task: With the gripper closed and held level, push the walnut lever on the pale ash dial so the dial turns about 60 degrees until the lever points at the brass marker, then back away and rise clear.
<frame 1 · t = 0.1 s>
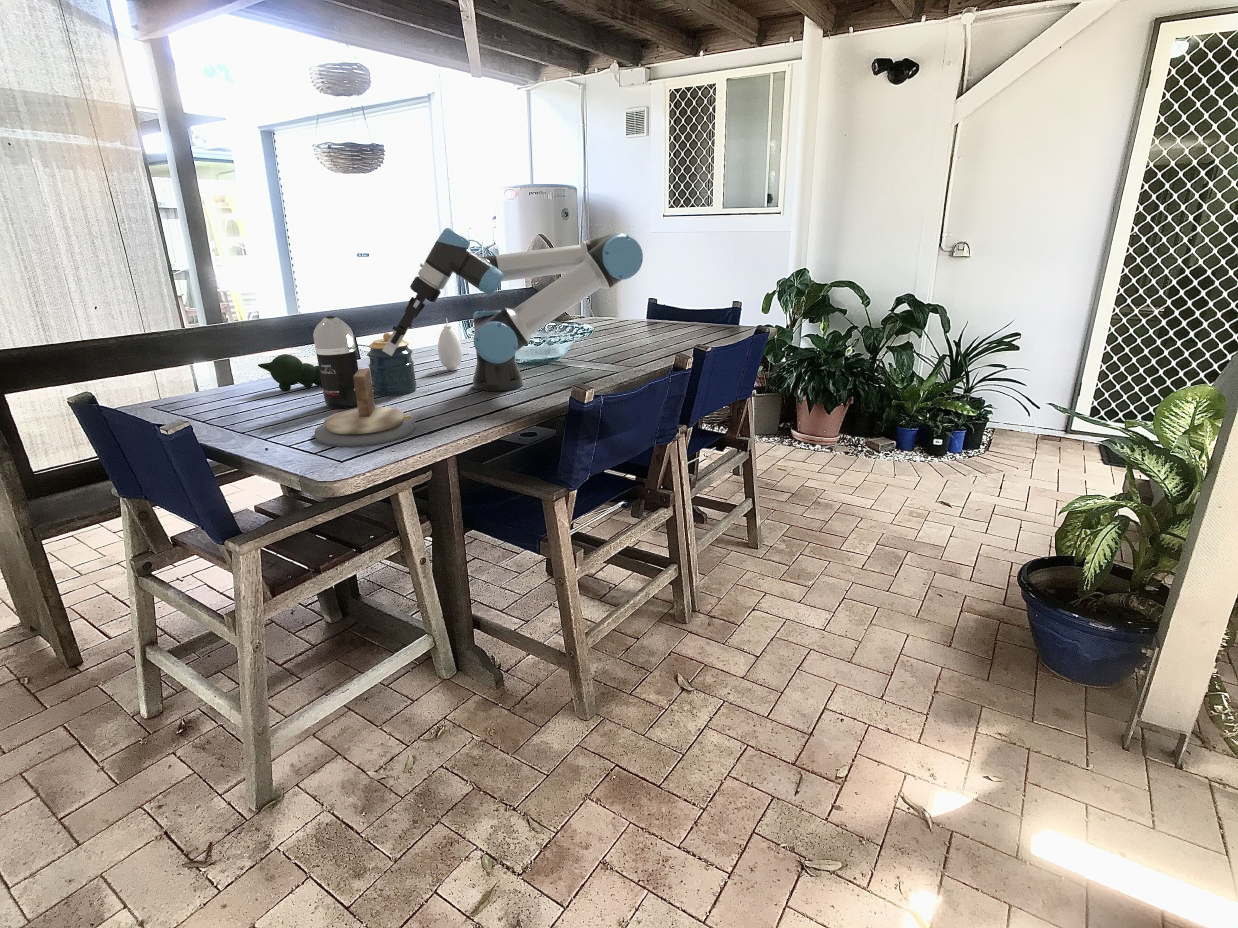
hand: (390, 348, 179), 15 cm above the table, tool tilted 35°, fingers open, 13 cm apart
canister: (395, 391, 197), on the table
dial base: (366, 431, 158), on the table
dial: (361, 400, 155), point 8 cm above the table, hinge at 0.0°
white tall oval piece: (452, 370, 225), on the table
black chrome cylinder: (345, 405, 182), on the table
toy figurine: (309, 388, 202), on the table
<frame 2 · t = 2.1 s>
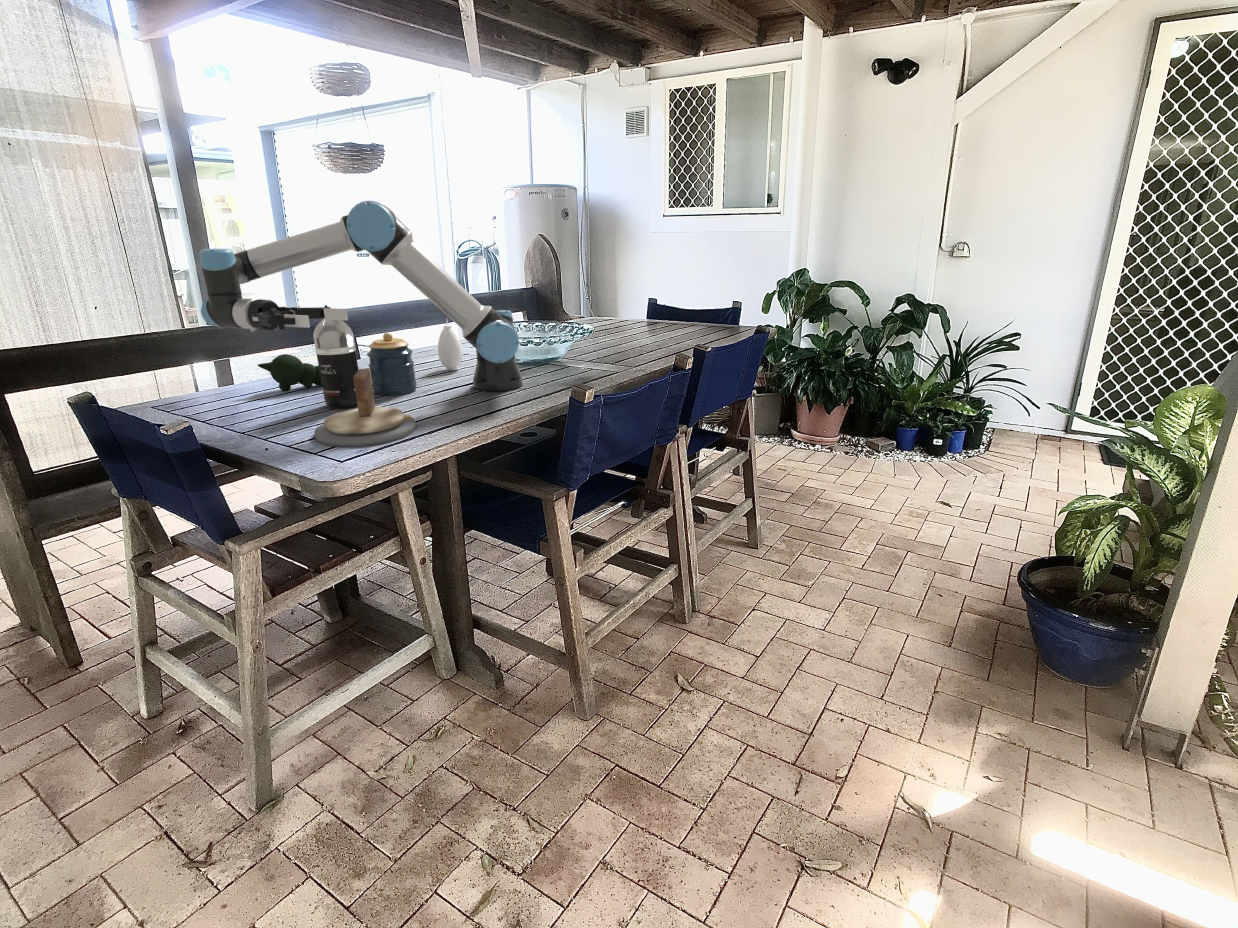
hand: (328, 318, 156), 26 cm above the table, tool horizontal, fingers open, 12 cm apart
nothing on the table moved.
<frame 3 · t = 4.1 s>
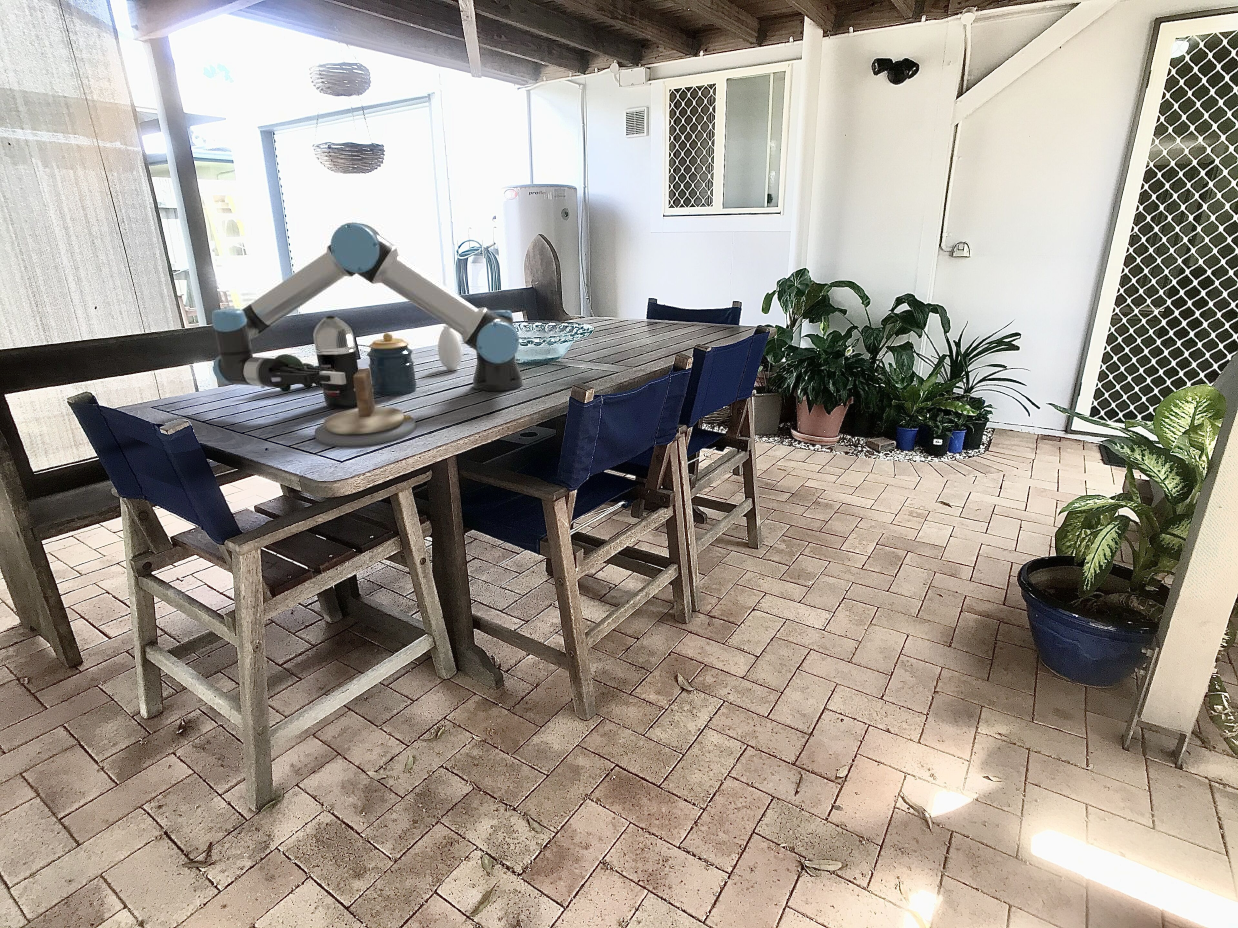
hand: (343, 378, 161), 12 cm above the table, tool horizontal, fingers closed
nothing on the table moved.
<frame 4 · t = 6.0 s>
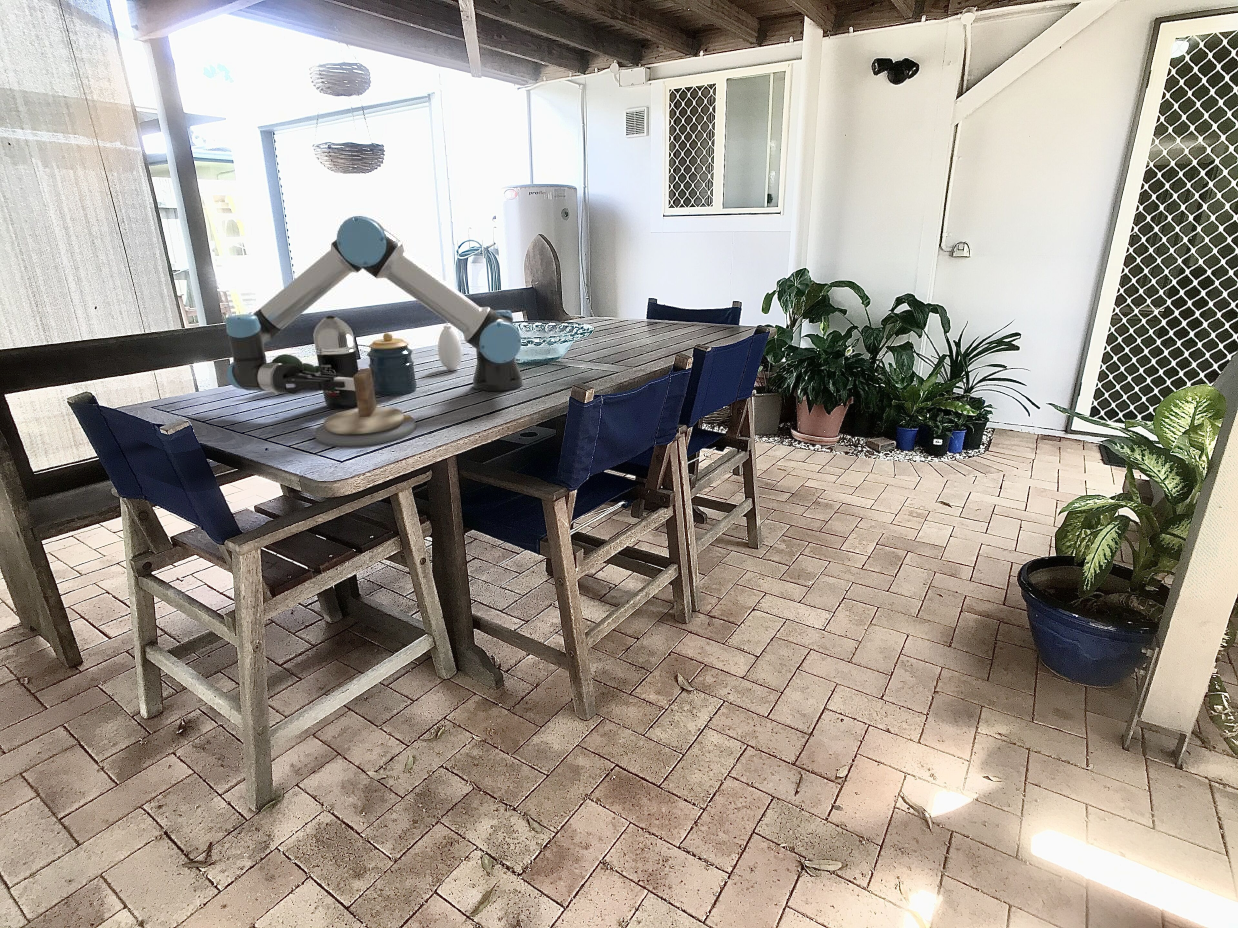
hand: (358, 384, 160), 10 cm above the table, tool horizontal, fingers closed
dial: (361, 400, 155), point 8 cm above the table, hinge at -2.4°, touching gripper
everything else where it was.
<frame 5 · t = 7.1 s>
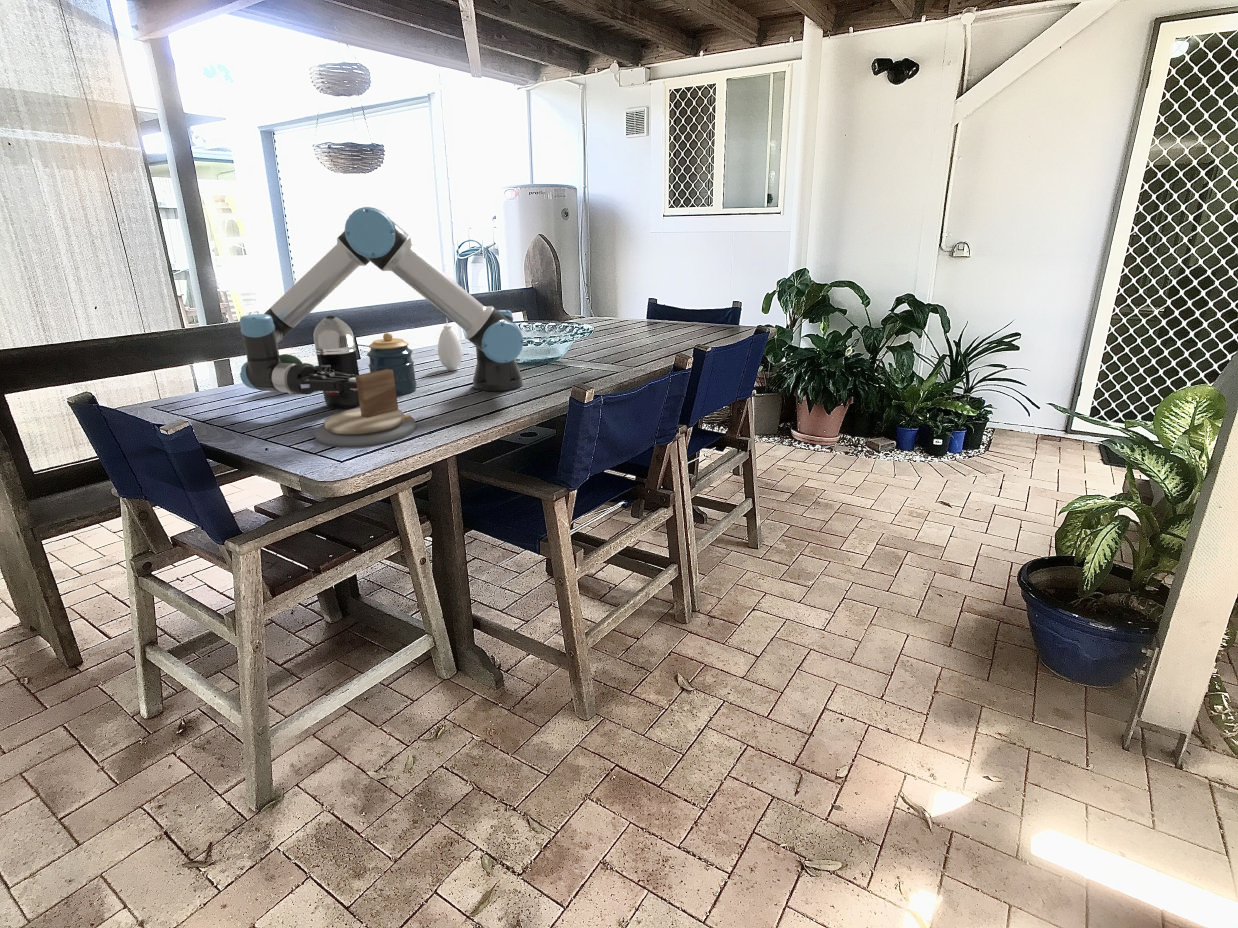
hand: (373, 385, 159), 10 cm above the table, tool horizontal, fingers closed
dial: (361, 400, 155), point 8 cm above the table, hinge at -45.6°, touching gripper
everything else where it was.
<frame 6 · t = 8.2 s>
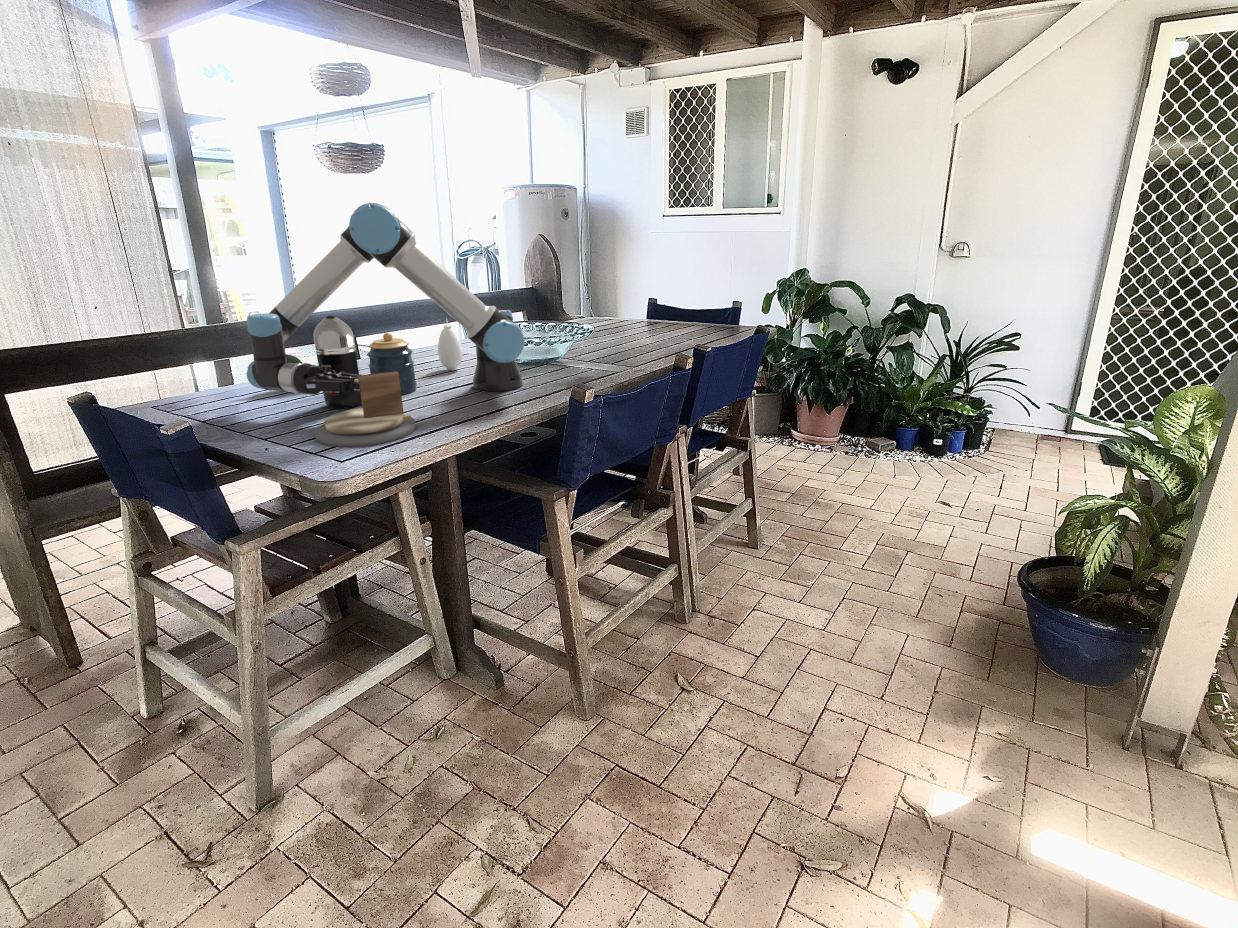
hand: (379, 386, 158), 10 cm above the table, tool horizontal, fingers closed
dial: (361, 400, 155), point 8 cm above the table, hinge at -73.4°, touching gripper
everything else where it was.
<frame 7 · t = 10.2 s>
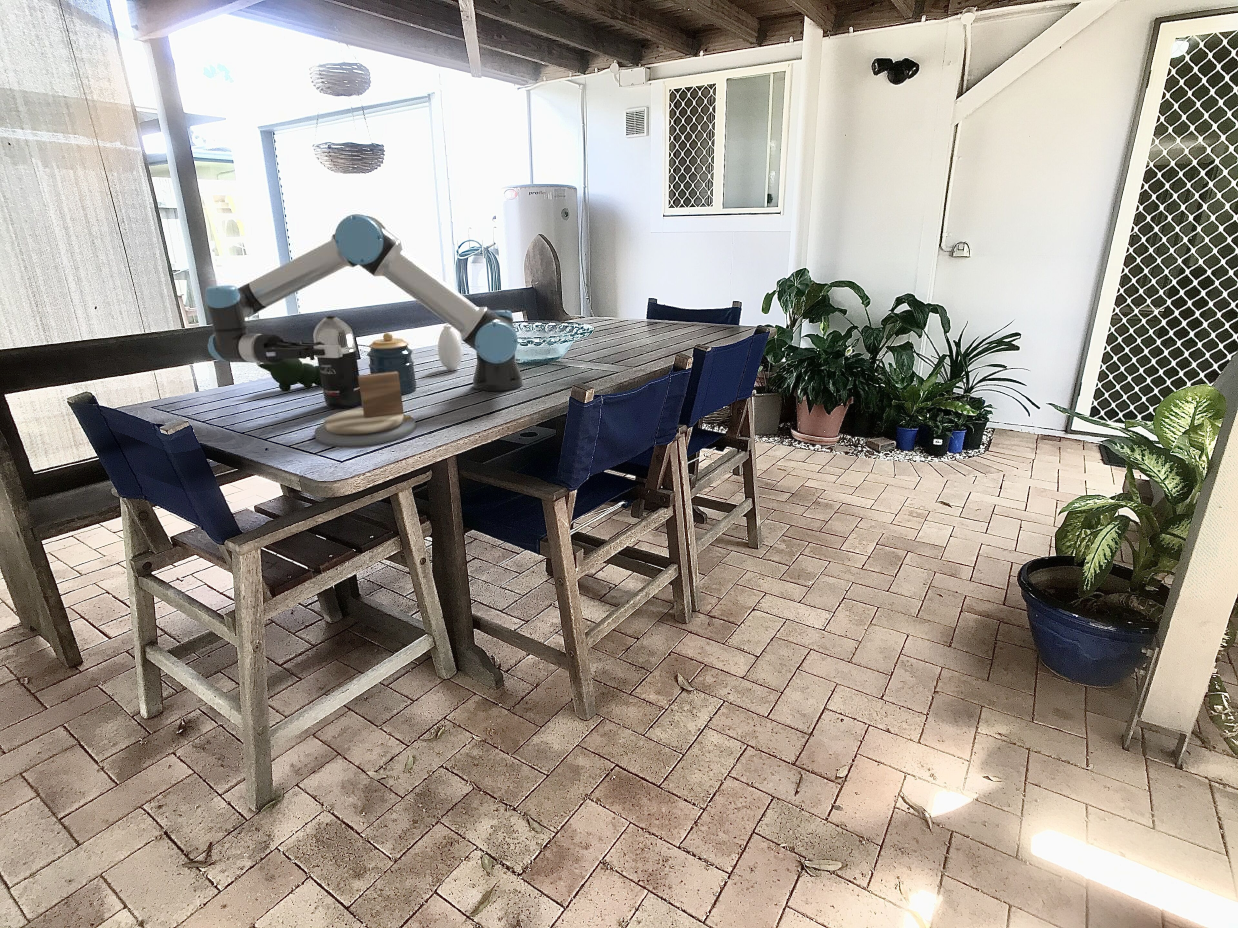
hand: (338, 351, 160), 18 cm above the table, tool horizontal, fingers closed
dial: (361, 400, 155), point 8 cm above the table, hinge at -73.4°
everything else where it was.
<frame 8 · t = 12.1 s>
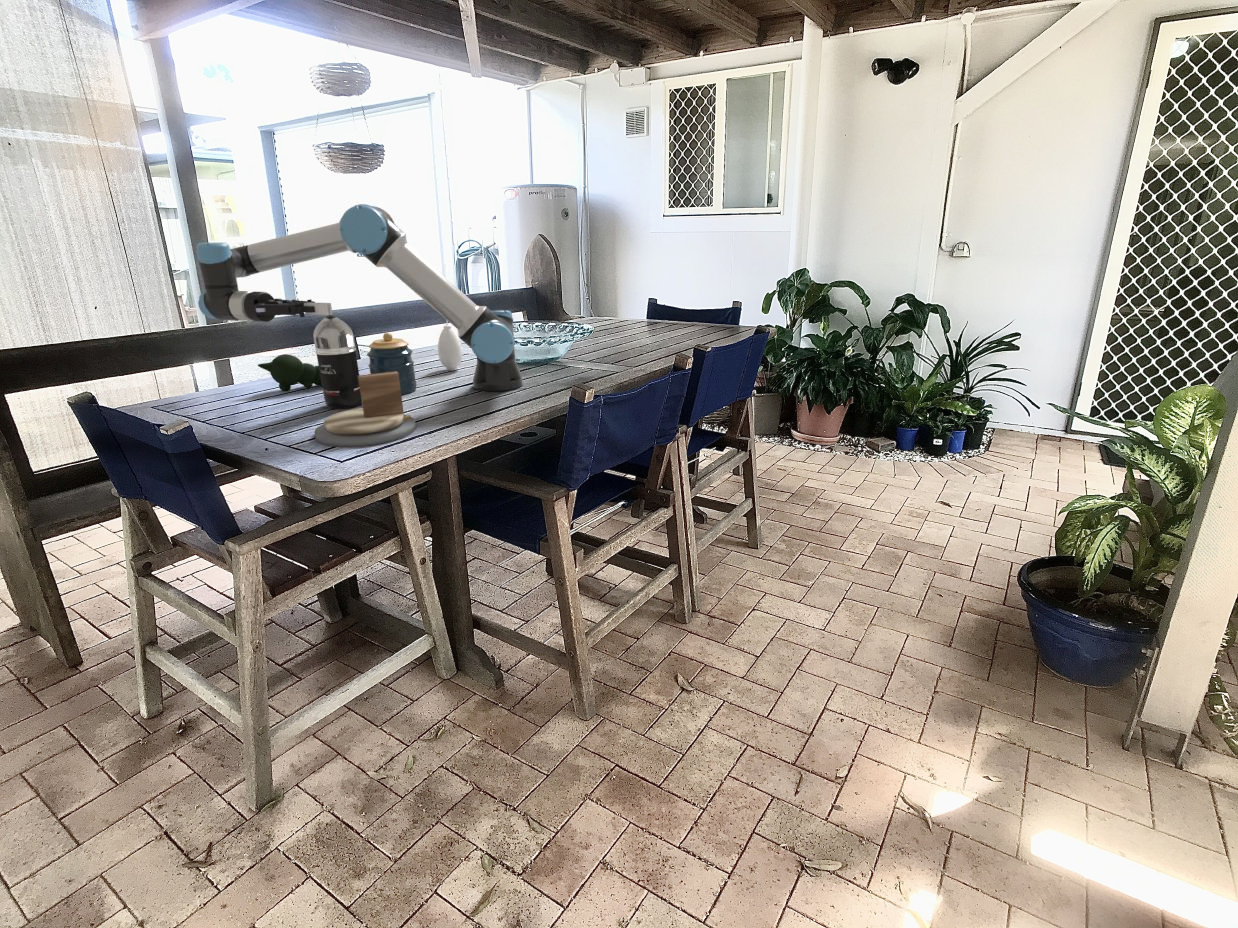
hand: (328, 309, 160), 28 cm above the table, tool horizontal, fingers closed
nothing on the table moved.
at the end: dial at -73° (first picture: +0°); black chrome cylinder moved 0.2 cm from its start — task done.
